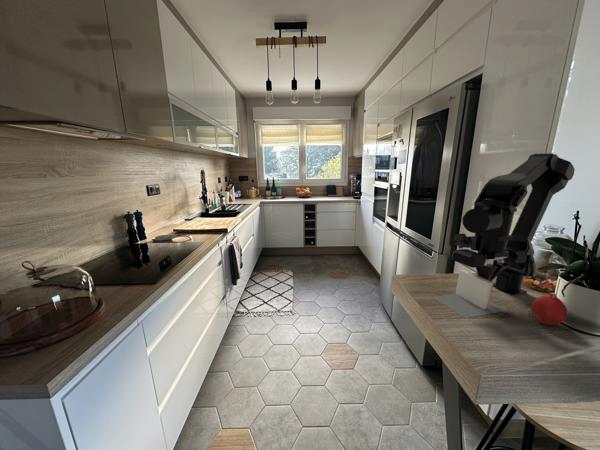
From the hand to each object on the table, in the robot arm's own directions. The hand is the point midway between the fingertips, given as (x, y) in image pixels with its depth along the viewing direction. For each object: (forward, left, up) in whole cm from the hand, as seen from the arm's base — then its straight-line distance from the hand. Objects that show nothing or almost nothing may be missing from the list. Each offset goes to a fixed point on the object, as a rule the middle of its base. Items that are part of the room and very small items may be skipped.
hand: (482, 286), depth 67 cm
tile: (+3, 0, -4) cm, 5 cm away
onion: (-5, +12, -4) cm, 14 cm away
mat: (+5, +1, -4) cm, 7 cm away
